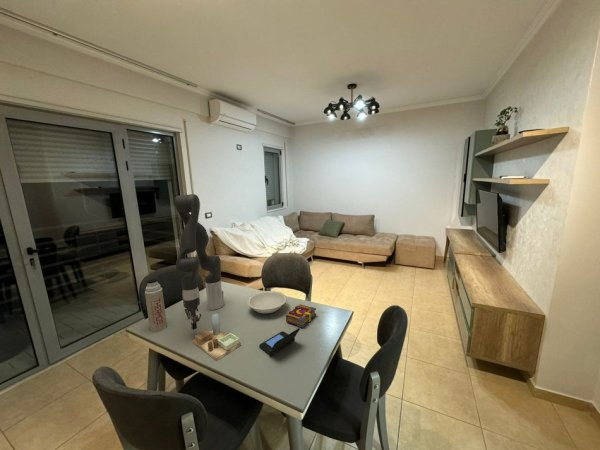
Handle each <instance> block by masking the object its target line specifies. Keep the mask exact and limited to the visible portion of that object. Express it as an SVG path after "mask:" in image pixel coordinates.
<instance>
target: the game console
mask: <svg viewBox="0 0 600 450" xmlns="http://www.w3.org/2000/svg"><path fill="white" fill-rule="evenodd" d="M300 330H301V327H298V328H296V329H295V330H293V331H292V332H289V333H287V332H285V331H280V332H278V333H277V334H275V335H273V336H271V337H270V338H268V339H266V340H264V341H263V342H261V343H259V345H258V346H259V348H260V349H261V350H262V351H263V352H264V353H266V354H267V355H268V356H270V357H272V356H273V355H274V354H277V352H279V351H280V350H281V349H283V348H284V347H287V346H288V345H290V344H291V343H293V342H295V340H296V336H297V335H298V333H299V332H300Z"/></svg>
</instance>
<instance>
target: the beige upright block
mask: <svg viewBox="0 0 600 450" xmlns="http://www.w3.org/2000/svg"><path fill="white" fill-rule="evenodd" d="M209 331H210V330H209ZM209 331H208V330H207V329H205V330H204V331H201V332H199V333H198V334H196V335H194V337H195V338H194V339H195V340H196V342H197V343H199V344H200V345H202V344H204V343H206V342H208V341H210V340H211V339H212V333H210V332H209Z"/></svg>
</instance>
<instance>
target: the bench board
mask: <svg viewBox="0 0 600 450" xmlns="http://www.w3.org/2000/svg"><path fill="white" fill-rule="evenodd" d="M209 332H210V333H212V339H211V340H210V341H208V342H206V343H204V344H202V345H200V344H199V343H197V342H196V340H195V338H194V339H192V343H193V344H194V345H196V347H198V348H199V349H201V350H202V352H204V353H206V354H207V355H208V356H209V357H211V358H212V359H213V360H215V362H217V361H219V360H220V359H222V358H223V357H225V356H226V355H229V354H230V353H231V352H233V351H235V350H236V349H238V348H240V347H241V342H240V343H239V344H238V345H236V346H234V347H233V348H231V349H230V350H228V351H226V350H225V349H223V348H222V347H220V346H219V345H218V340H219V339H221V338H222V337H224V336H226V335H228V334H227V333H225V332H223V331H222V330H220V334H219V335H213V329H212V330H209Z"/></svg>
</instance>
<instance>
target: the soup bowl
mask: <svg viewBox="0 0 600 450" xmlns="http://www.w3.org/2000/svg"><path fill="white" fill-rule="evenodd" d="M287 301H288V298H287V296H286V295H285V294H284V293H282V292H279V291H276V290H268V291H261V292H257V293H254V294H252V295H251V296H250V297H249V298H247V302H246V303H247V305H248V307H250V309H252V310H253V311H255V312H257V313H259V314H272V313H275V312H276V311H278V310H280V309H281V308H282V307H283V306H284V305H285V304H286V302H287Z"/></svg>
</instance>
